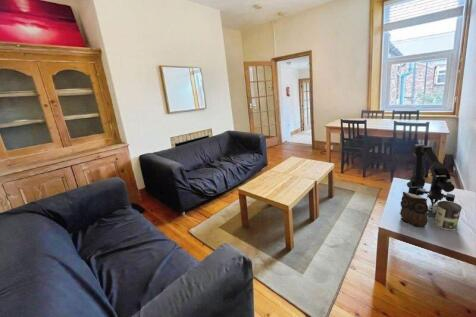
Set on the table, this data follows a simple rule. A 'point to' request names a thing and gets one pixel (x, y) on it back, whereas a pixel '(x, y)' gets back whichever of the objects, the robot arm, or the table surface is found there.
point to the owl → (414, 210)
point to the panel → (430, 212)
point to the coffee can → (447, 215)
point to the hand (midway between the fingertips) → (432, 205)
